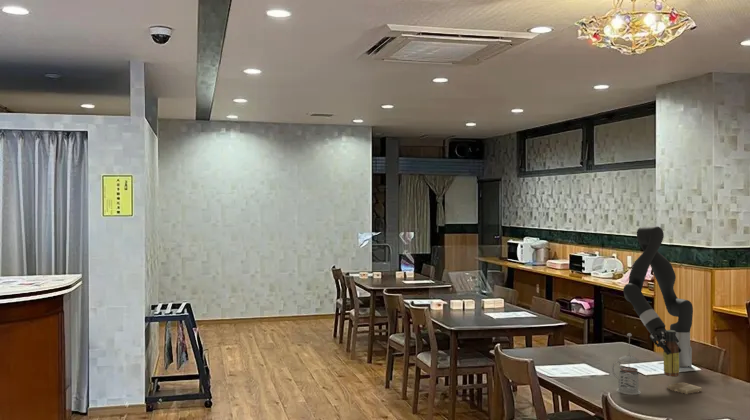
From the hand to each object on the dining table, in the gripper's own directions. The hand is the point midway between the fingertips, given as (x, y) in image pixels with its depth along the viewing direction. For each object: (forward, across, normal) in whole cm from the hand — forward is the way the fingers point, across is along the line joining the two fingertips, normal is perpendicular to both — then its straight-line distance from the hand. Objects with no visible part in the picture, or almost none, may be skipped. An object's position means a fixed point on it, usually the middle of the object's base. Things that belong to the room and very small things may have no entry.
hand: (674, 352), depth 283 cm
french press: (+7, -24, +14) cm, 29 cm away
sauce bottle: (+6, 0, +9) cm, 11 cm away
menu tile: (+11, 0, +9) cm, 14 cm away
